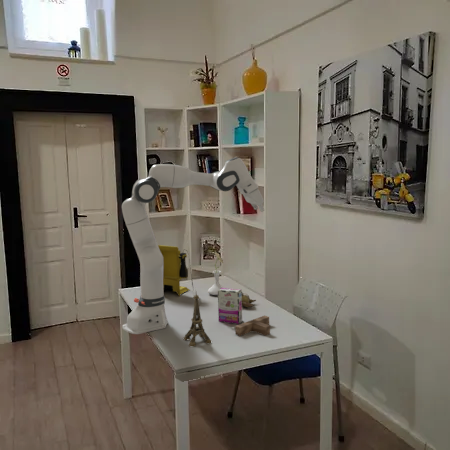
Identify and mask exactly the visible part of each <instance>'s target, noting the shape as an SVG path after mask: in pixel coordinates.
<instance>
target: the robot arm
mask: <svg viewBox="0 0 450 450" xmlns="http://www.w3.org/2000/svg"><path fill="white" fill-rule="evenodd" d="M192 185H197V186H208V187H210V188H212V189H214V190H216V191H220V192H221V191H222V192H229V191H231V190H233V188H235V187H236V188H237V190H238V191H239V193H240V194H241V195H243V198H244V199H245V201H246V203H249V204H250V205H251V207H252V208H253V210H255V211H256V210H259V211H260V212H262V213H263V212H264V211H265V208H264V206H263V204H264V203H265V200H264V197H263V195H262V193H261V191H260V189H259V188H260V187H259V185H258V183H256V181H255V180H254V179H253V176H252V175H250V172H249V169H248V167H247V166H246V164H245V162H244V160H242V158H241V157H232V158H230V159H227V160H225V163H224V166H223V167H222V169H221V170H217V171H214V172H212V173H211V172H210V173H209V172H208V173H207V172H199V171H193V170H191V169H190V168H188V167H187V166H184V165H178V164H171V163H162V164H161V163H160V164H159V163H158V164H157V163H156V164H153V165H152V166H151V168H150V169H149V172H148V175H147V177H145V178H139V179H137V180H136V181H135V182H134V184H133V186H132V190H131V193H130V194H131V196H130V198H126V199H125V200H124V201H123V202H122V204H121V213H122V217H123V220H124V222H125V226H126V228H127V230H128V233H129V237H130V239H131V242H132V245H133V247H134V249H135V252H136V254H137V258H138V260H139V264H140V266H139V267H140V269H139V270H140V271H139V272H140V275H139V276H140V277H139V280H140V281H139V282H140V297H139V298H137V297H136V298H135V297H134V299H133V302H134V303H136V304H137V305H136V307H134V308H133V310H131V312H130V313H128V315H127V318H126V323H124V324H122V330H123V331H124V332H127V333H128V334H131V335H140V334H145V333H149V332H150V333H151V332H153V331H158V330H163V329H166V327H167V325H168V324H169V320H168V318H167V314H166V308H165V305H166V304H165V302H166V301H165V300H166V299H165V294H164V290H163V255H162V253H161V252H160V249H159V247H158V245H159V243H158V241H157V239H156V236H155V233H154V229H153V227H152V224H151V221H150V218H149V216H148V213H147V210H146V204H149V203H152V202H153V201H155V199H156V198H157V196H158V195H159V192H160V188H173V189H181V188H187V187H188V186H192Z"/></svg>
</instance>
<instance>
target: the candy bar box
mask: <svg viewBox="0 0 450 450" xmlns="http://www.w3.org/2000/svg"><path fill="white" fill-rule="evenodd" d="M242 293H243V291H242V289H240V288H239V289H237V288H227V287H224V288H221V289H219V290H218V295H217V303H218V304H217V306H218V307H217V309H218V314H217V315H218V322H220V323H227V324H237V325H240V324H241V323H242V322H243V307H242Z"/></svg>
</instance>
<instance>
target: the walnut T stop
mask: <svg viewBox="0 0 450 450" xmlns="http://www.w3.org/2000/svg"><path fill="white" fill-rule="evenodd" d="M234 327H235V335H237V336H239V337H242V336H244V335H246V334H249V333H252V332H255V333H256V334H260V335H263V336H269V335H270V334H271V325H270V316H268V315H262V316H260V317H256V318H254V319H251V320H248V321H245V322H243V323H242V322H241V323H239V324H237V325H234ZM241 335H242V336H241Z"/></svg>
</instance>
